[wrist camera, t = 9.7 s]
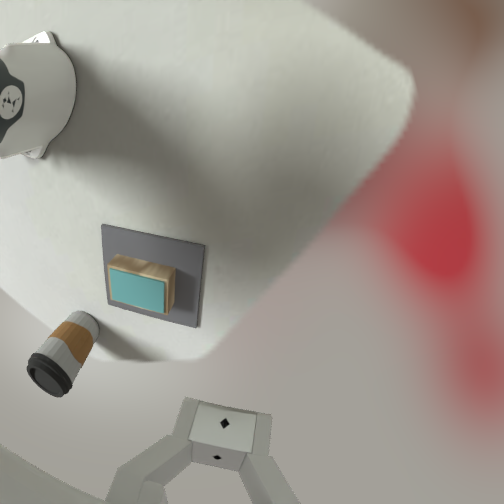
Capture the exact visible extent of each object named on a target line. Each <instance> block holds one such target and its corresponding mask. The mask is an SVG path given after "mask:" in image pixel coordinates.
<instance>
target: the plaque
mask: <svg viewBox="0 0 504 504" xmlns="http://www.w3.org/2000/svg"><path fill="white" fill-rule="evenodd" d="M107 269H108V280H109V290H110V299H111V300H114V301H117V302H121V303H124V304H128V305H131V306H135V307H138V308H142V309H146V310H149V311H153V312H157V313H161V314H164V315H168V314H169V312H170V310H171V308H172V306H173V304H174V297H175V273H176V268H174V267H170V266H166V265H161V264H157V263H153V262H149V261H144V260H140V259H136V258H132V257H128V256H123V255H119V254H117V255H116V256H115V257H114V258H113V259H112V260H111V261H110V262H109V263H108V264H107Z"/></svg>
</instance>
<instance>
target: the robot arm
mask: <svg viewBox="0 0 504 504" xmlns="http://www.w3.org/2000/svg"><path fill="white" fill-rule="evenodd" d="M75 95H76V77H75V72H74V68H73V65H72V63H71V61H70V59H69V57H68V56H67V55H66V53H65V52H64V51H62V50H61V49H60V48H59V47H58V46H57V45H56V43H55V40H54V37H53V35H52V33H51V32H41V33H39V34H37V35H35V36H33V37H31V38H29V39H27V40H25V41H23V42H22V43H10V44H6V45H5V46H4V48H1V49H0V159H4V158H8V157H11V156H14V155H17V154H22V155H25V156H28V157H30V158H33V159H37V158H40V157H42V156H43V154H44V152H45V150H46V148H47V146H48V144H49V142H50V141H51V140H52V139H53V138H55V137H56V136H57V135H58V134H59V133H60V132H61V131H62V129H63V128H64V126H65V125H66V123H67V121H68V119H69V117H70V115H71V112H72V109H73V106H74V101H75ZM271 425H272V416H271V414H265V413H259V412H255V411H249V410H243V409H238V408H232V407H226V406H222V405H217V404H213V403H208V402H204V401H200V400H197V399H193V398H188V397H185V399H184V400H183V402H182V405H181V408H180V411H179V414H178V417H177V420H176V423H175V427H174V430H173V433H172V435H166V436H165V437H163V438H162V439H160V440H159V441H158V442H156V443H155V444H153V445H152V446H150V447H149V448H148V449H146V450H145V451H143V452H142V453H140V454H139V455H137V456H136V457H134V458H133V459H132V460H130V461H128V462H127V463H125V464H124V465H122V466H121V467H119V468H118V469H117V472H116V475H115V477H114V480H113V482H112V485H111V487H110V489H109V492H108V494H107V497H106V500H105V501H104V500H102V499H99V498H97V497H95V496H93V495H90V494H88V493H86V492H84V491H81V490H79V489H77V488H75V487H73V486H71V485H69V484H67V483H65V482H63V481H61V480H59V479H57V478H55V477H54V476H52V475H50V474H48V473H46V472H45V471H43V470H41V469H39V468H37V467H36V466H34V465H32V464H31V463H29V462H27V461H26V460H24V459H22V458H21V457H20V456H18V455H16V454H15V453H13V452H12V451H10V450H9V449H7V448H6V447H4V446H3V445H2V444H0V504H168V501H167V497H166V493H165V489H164V486H165V485H166V484H167V483H168V482H170V481H171V480H172V479H173V478H174V477H176V476H177V475H178V474H179V473H180V472H181V471H183V470H184V469H185V468H186V467H187V466H188V465H189V464H190V463H191V462H196V463H201V464H205V465H210V466H215V467H220V468H224V469H229V470H234V471H238V472H239V475H240V477H241V479H242V482H243V484H244V486H245V488H246V490H247V493H248V495H249V497H250V499H251V501H252V503H253V504H300V502H299V501H298V499H297V497H296V496H295V494H294V492H293V491H292V489H291V487H290V486H289V484H288V483H287V481H286V479H285V477H284V476H283V474H282V472H281V471H280V469H279V467H278V466H277V464H276V462H275V460H274V459H273V457H271V456H268V454H269V444H270V435H271Z"/></svg>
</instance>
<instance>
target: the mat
mask: <svg viewBox="0 0 504 504" xmlns="http://www.w3.org/2000/svg"><path fill="white" fill-rule="evenodd" d="M101 230H102V247H103V261H104V272H105V282H106V291H107V300H108V304H109V305H112V306H115V307H119V308H122V309H126V310H129V311H133V312H136V313H140V314H143V315H147V316H150V317H154V318H158V319H162V320H165V321H169V322H173V323H177V324H181V325H185V326H189V327H193V328H196V327H197V319H198V307H199V297H200V286H201V276H202V267H203V257H204V248H205V245H201V244H196V243H191V242H186V241H182V240H177V239H172V238H167V237H163V236H158V235H153V234H148V233H144V232H139V231H134V230H130V229H125V228H120V227H115V226H111V225H106V224H102V225H101ZM117 254H119V255H123V256H128V257H132V258H136V259H140V260H144V261H149V262H153V263H157V264H161V265H166V266H170V267H174V268H176V273H175V297H174V304H173V306H172V308H171V310H170V312H169V314H168V315H164V314H161V313H157V312H153V311H149V310H146V309H142V308H138V307H135V306H131V305H128V304H124V303H121V302H117V301H114V300H111V299H110V290H109V280H108V269H107V264H108V263H109V262H110V261H111V260H112V259H113V258H114V257H115V256H116V255H117Z"/></svg>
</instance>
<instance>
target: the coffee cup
mask: <svg viewBox="0 0 504 504" xmlns="http://www.w3.org/2000/svg"><path fill="white" fill-rule="evenodd" d="M98 335H99V327H98V324H97V322H96V321H95V320H94V318H93V317H91V316H90V315H89V314H87V313H85V312H83V311H76V312H73V313H72V314H71V315H70V316H69V317H68V318H67V319H66V320H65V321H64V322H63V323H62V324H61V325H60V326H59V327H58V328H57V329H56V330H55V331H54V332H53V333H52V334H51V335H50V336H49V337H48V339H47V340H46V341H45V342H44V344H43V345H42V346H41V347H40V348H39V349H38V350H37V351H36V352H35V353H33V354H32V355H31V358H30V359H29V361H28V366H27V372H28V374H29V376H30V377H31V379H32V380H33V381H34V382H35V383H36V384H37V385H38V386H39V387H40V388H41V389H42V390H44V391H45V392H47V393H48V394H50V395H52V396H55V397H62V396H63V395H64V394H67V393H68V392H69V390H70V389H71V388H72V384H73V382H74V380H75V378H76V376H77V374H78V372H79V370H80V368H82V366H83V364H84V362H85V360H86V358H87V356H88V355H89V353H90V351H91V349H92V347H93V344H94V343H95V341H96V339H97V337H98Z"/></svg>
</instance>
